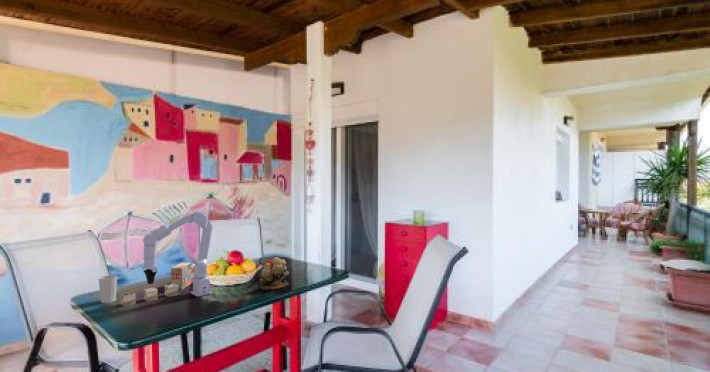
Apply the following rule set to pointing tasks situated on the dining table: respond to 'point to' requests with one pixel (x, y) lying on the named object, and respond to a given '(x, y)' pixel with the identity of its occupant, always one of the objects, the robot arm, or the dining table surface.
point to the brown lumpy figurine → (274, 275)
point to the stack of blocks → (182, 274)
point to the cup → (108, 288)
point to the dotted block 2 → (171, 290)
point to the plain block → (150, 294)
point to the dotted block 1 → (128, 298)
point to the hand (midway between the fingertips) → (150, 283)
